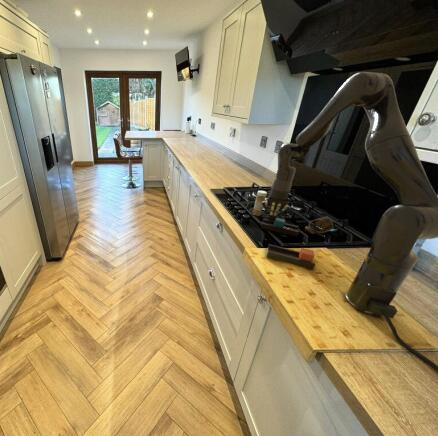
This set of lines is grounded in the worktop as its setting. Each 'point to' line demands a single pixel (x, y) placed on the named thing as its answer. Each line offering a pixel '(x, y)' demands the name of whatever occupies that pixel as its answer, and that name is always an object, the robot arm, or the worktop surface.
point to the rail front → (288, 256)
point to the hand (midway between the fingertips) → (270, 221)
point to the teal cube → (279, 222)
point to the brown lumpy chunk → (320, 225)
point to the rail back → (280, 228)
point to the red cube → (306, 255)
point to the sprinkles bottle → (259, 203)
